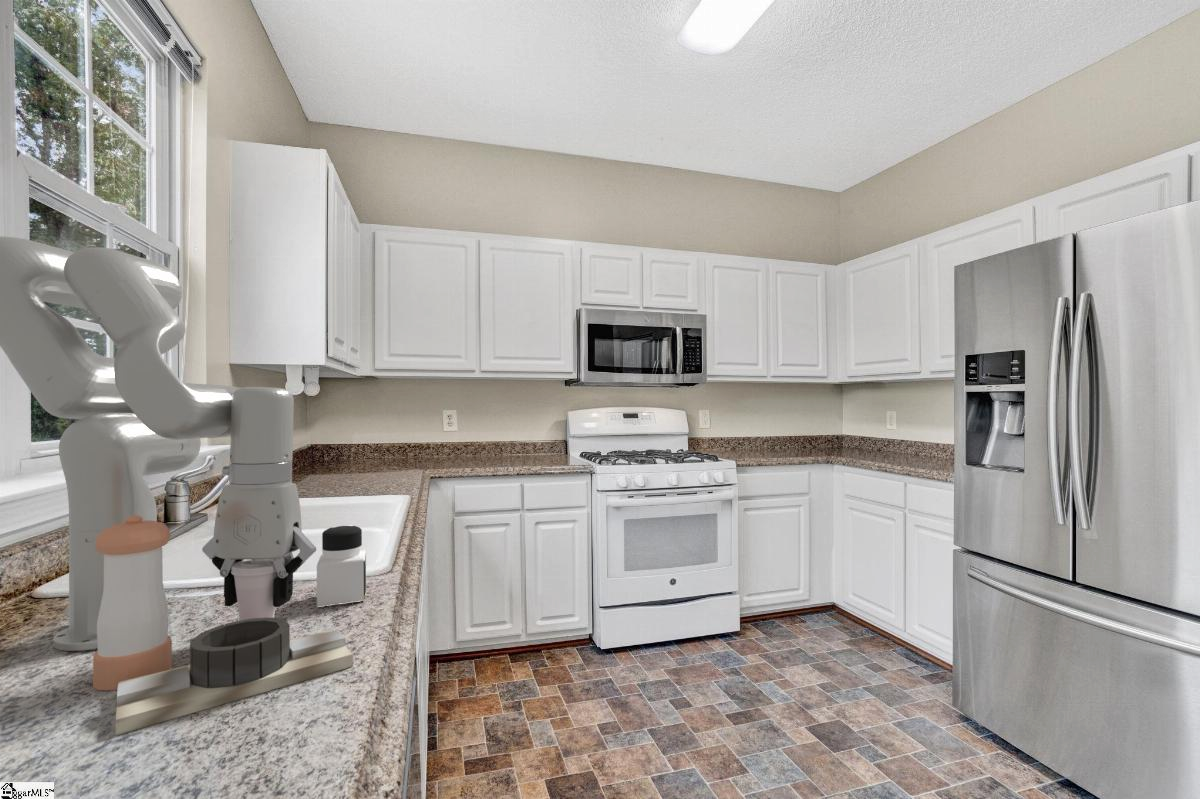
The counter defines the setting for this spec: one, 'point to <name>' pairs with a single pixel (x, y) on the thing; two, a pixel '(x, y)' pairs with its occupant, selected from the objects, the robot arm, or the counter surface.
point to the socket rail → (226, 694)
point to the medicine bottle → (341, 566)
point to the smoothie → (254, 588)
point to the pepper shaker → (132, 604)
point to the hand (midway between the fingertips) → (258, 602)
